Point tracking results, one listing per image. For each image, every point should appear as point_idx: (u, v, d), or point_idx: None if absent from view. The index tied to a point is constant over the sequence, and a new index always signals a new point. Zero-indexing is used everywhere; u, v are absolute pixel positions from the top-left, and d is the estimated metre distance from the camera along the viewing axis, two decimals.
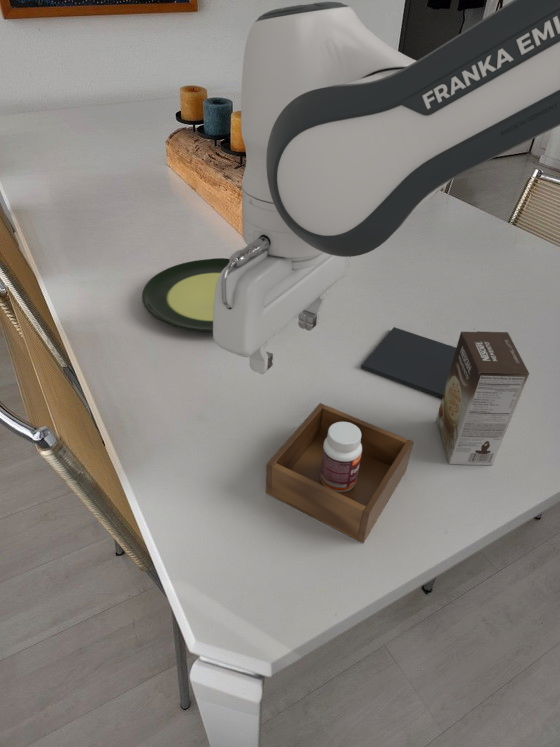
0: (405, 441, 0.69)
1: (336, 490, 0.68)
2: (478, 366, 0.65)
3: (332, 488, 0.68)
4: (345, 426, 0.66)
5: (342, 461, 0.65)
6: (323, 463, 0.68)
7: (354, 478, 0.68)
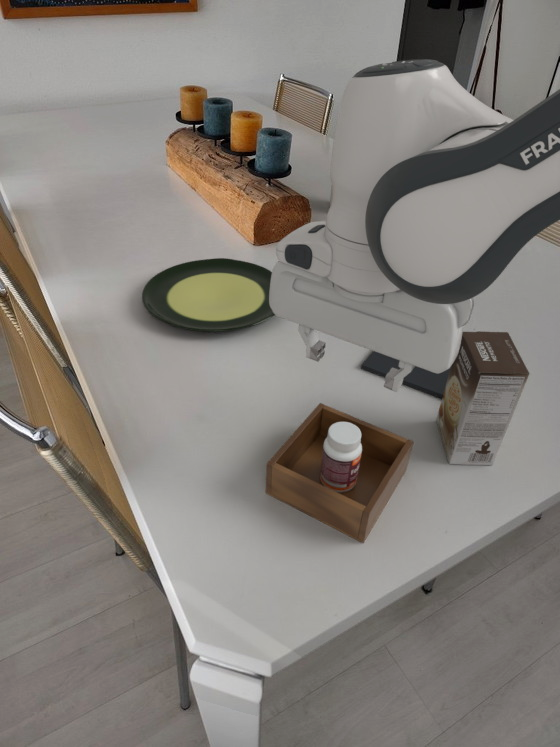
0: (405, 441, 0.69)
1: (336, 490, 0.68)
2: (478, 366, 0.65)
3: (332, 488, 0.68)
4: (345, 426, 0.66)
5: (342, 461, 0.65)
6: (323, 463, 0.68)
7: (354, 478, 0.68)
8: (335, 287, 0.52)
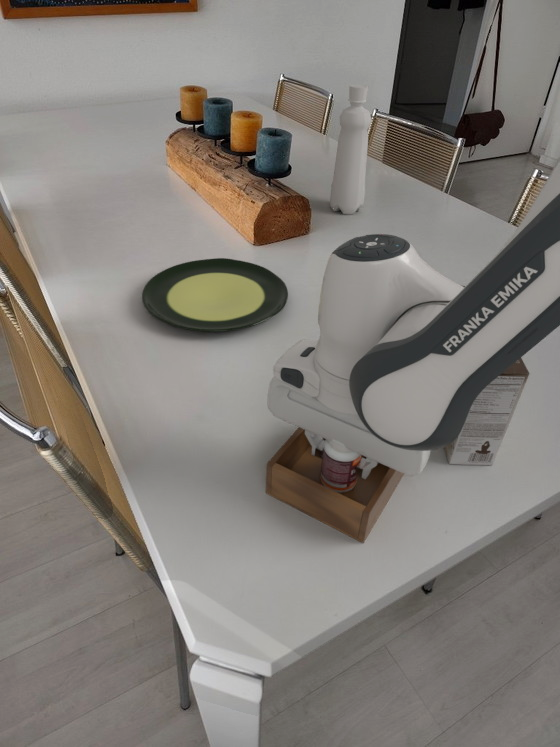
0: None
1: (336, 490, 0.68)
2: None
3: (332, 488, 0.68)
4: None
5: (343, 461, 0.65)
6: (323, 463, 0.68)
7: (354, 478, 0.68)
8: None
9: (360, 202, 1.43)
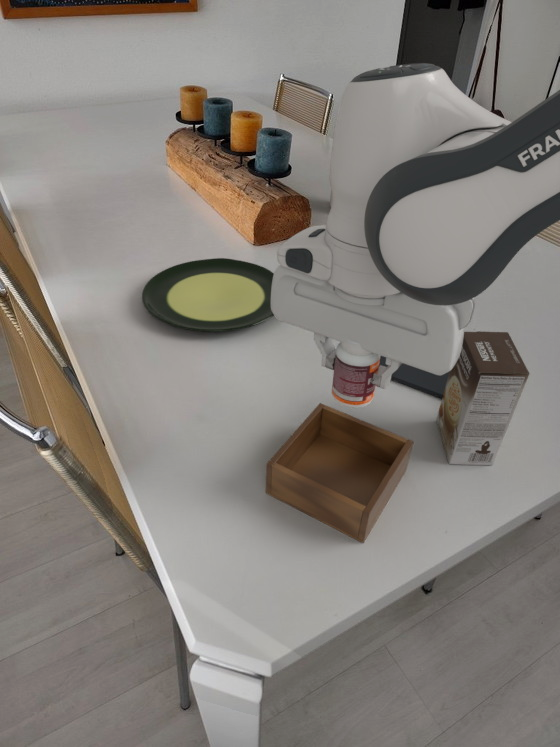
0: (405, 441, 0.69)
1: (351, 405, 0.59)
2: (478, 366, 0.65)
3: (345, 403, 0.59)
4: None
5: (358, 366, 0.56)
6: (335, 372, 0.59)
7: (371, 390, 0.59)
8: (336, 290, 0.52)
9: None
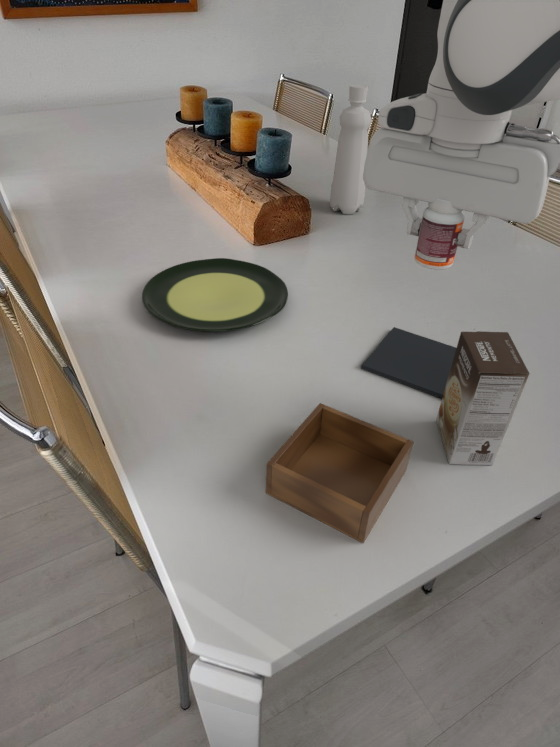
0: (405, 441, 0.69)
1: (434, 266, 0.65)
2: (478, 366, 0.65)
3: (430, 264, 0.65)
4: None
5: (446, 224, 0.62)
6: (421, 236, 0.65)
7: (454, 252, 0.65)
8: (433, 147, 0.58)
9: (360, 202, 1.43)
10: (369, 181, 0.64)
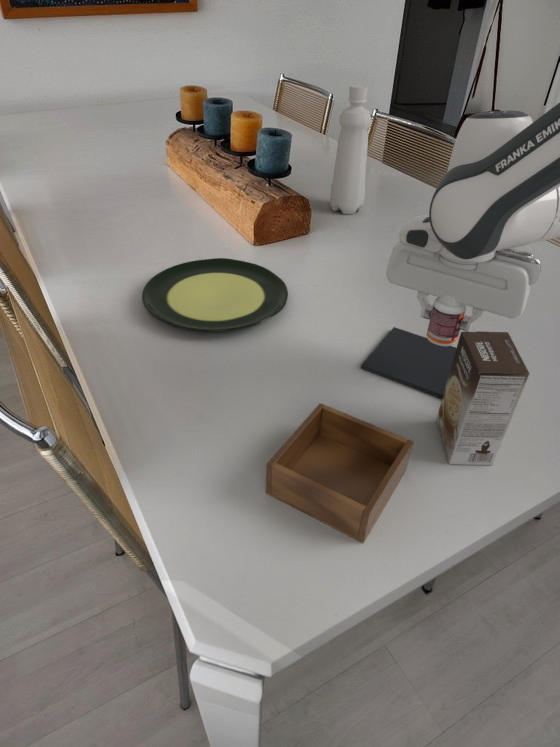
0: (405, 441, 0.69)
1: (442, 344, 0.83)
2: (478, 366, 0.65)
3: (438, 342, 0.83)
4: None
5: (452, 314, 0.80)
6: (432, 320, 0.82)
7: (457, 333, 0.82)
8: (441, 259, 0.76)
9: (360, 202, 1.43)
10: (391, 277, 0.82)
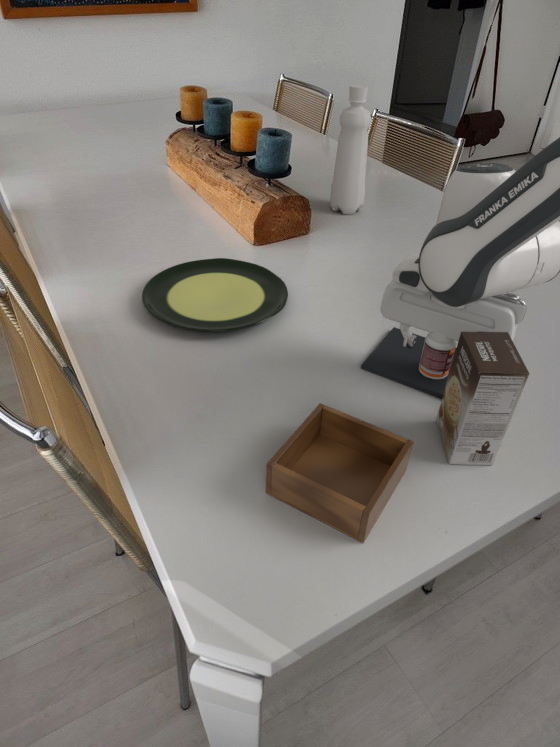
0: (405, 441, 0.69)
1: (434, 377, 0.87)
2: (478, 366, 0.65)
3: (430, 376, 0.87)
4: None
5: (442, 350, 0.83)
6: (424, 355, 0.86)
7: (448, 367, 0.86)
8: (432, 298, 0.80)
9: (360, 202, 1.43)
10: (385, 313, 0.86)
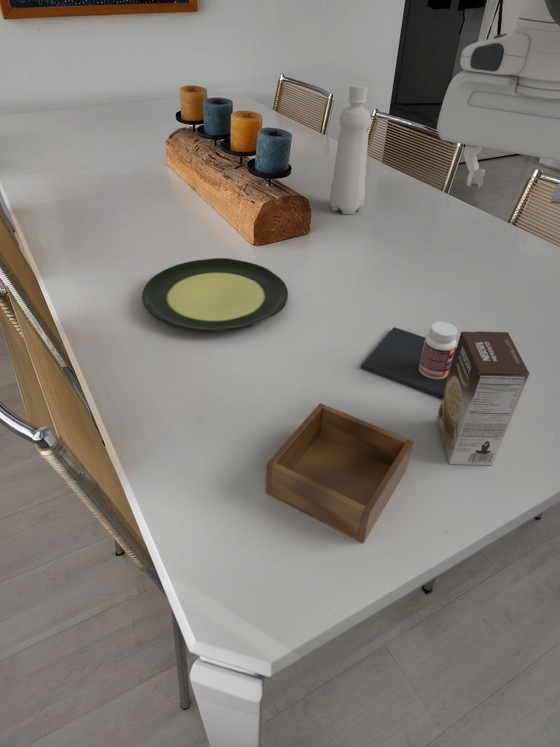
0: (405, 441, 0.69)
1: (434, 377, 0.87)
2: (478, 366, 0.65)
3: (430, 376, 0.87)
4: (443, 324, 0.85)
5: (442, 350, 0.83)
6: (424, 355, 0.86)
7: (448, 367, 0.86)
8: (520, 90, 0.55)
9: (360, 202, 1.43)
10: (444, 131, 0.61)
